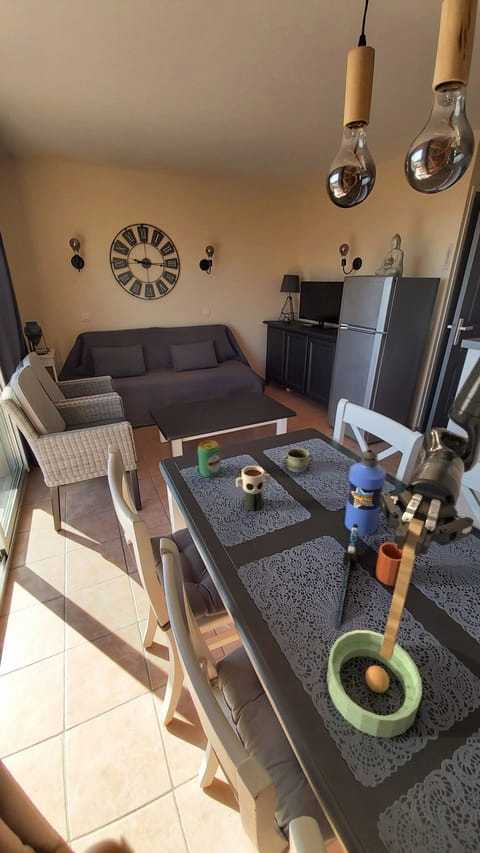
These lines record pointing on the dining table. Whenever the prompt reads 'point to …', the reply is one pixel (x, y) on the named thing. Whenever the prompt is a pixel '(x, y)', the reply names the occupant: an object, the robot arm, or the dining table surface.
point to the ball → (377, 679)
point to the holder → (388, 563)
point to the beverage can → (209, 459)
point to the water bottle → (365, 494)
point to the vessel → (297, 459)
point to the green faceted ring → (399, 664)
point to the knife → (350, 557)
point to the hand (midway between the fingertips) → (409, 547)
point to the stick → (401, 588)
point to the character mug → (253, 486)
